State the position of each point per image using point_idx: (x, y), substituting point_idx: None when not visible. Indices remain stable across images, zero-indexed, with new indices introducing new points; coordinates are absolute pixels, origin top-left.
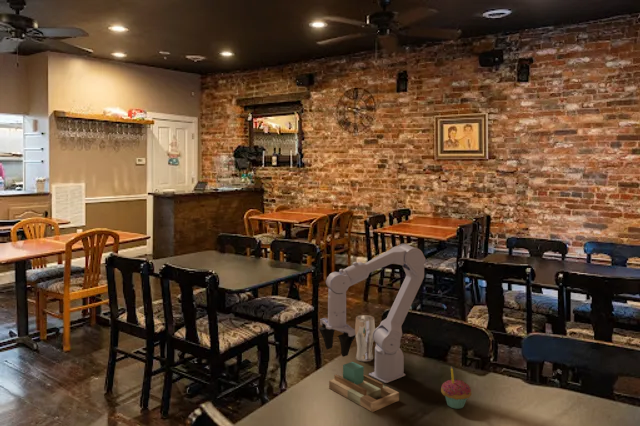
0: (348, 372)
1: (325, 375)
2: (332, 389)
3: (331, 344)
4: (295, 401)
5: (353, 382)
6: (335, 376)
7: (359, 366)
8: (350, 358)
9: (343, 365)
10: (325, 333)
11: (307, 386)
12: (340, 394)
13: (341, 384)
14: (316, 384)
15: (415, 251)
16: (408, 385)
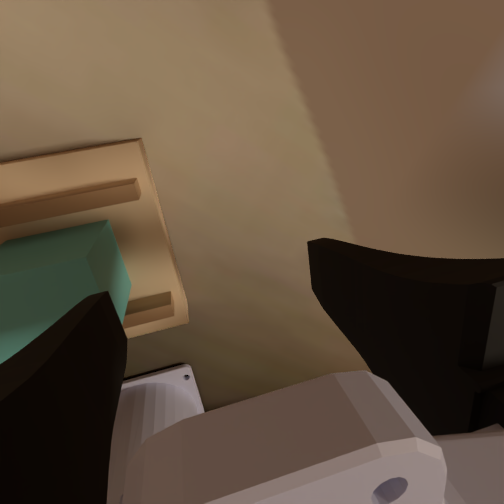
0: (31, 255)
1: (285, 197)
2: (111, 143)
3: (325, 300)
4: None
5: (2, 247)
6: (123, 184)
7: (9, 348)
8: (361, 360)
9: (82, 256)
10: (414, 303)
11: (219, 32)
12: (41, 155)
13: (51, 182)
14: (217, 98)
15: None
16: None
